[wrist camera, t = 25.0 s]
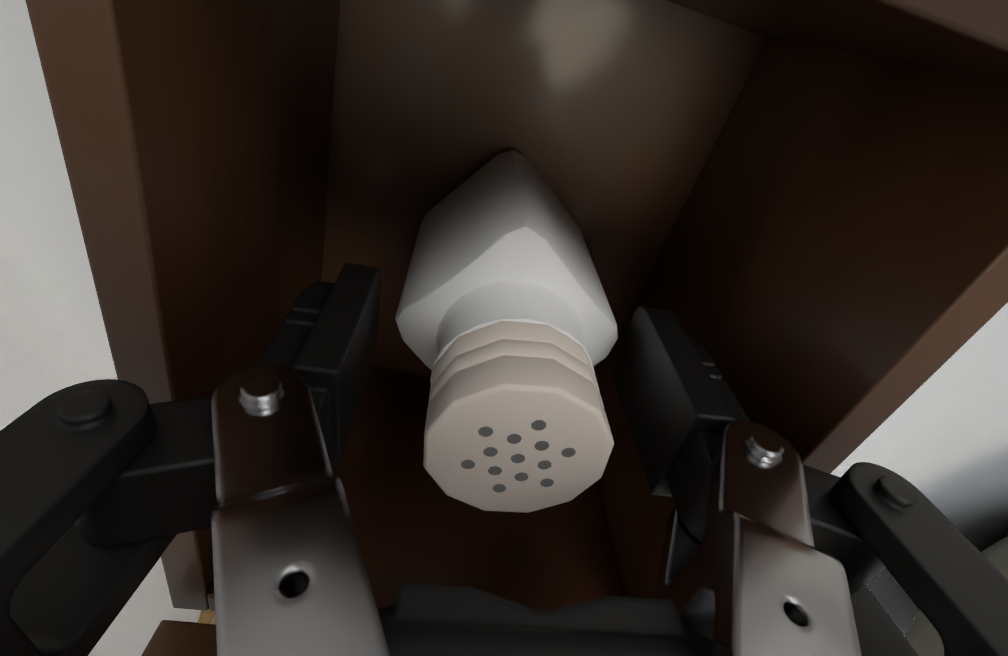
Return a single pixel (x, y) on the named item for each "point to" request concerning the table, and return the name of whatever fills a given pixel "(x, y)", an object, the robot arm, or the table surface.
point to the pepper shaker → (508, 342)
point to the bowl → (922, 632)
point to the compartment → (580, 189)
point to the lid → (183, 639)
